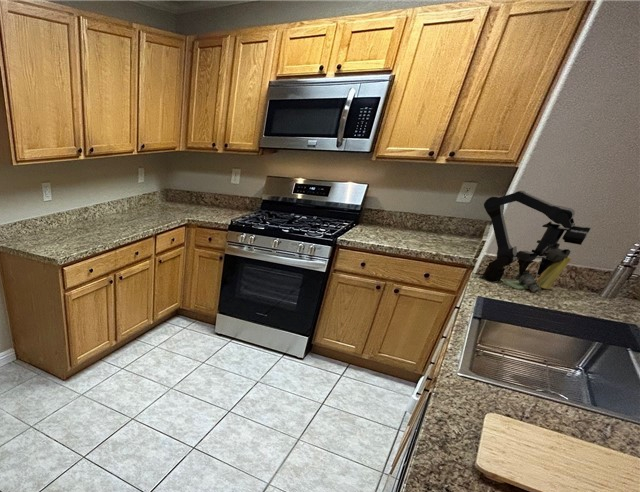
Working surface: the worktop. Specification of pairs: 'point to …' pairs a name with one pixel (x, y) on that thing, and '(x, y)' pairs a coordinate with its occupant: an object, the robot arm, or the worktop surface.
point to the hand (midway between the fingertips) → (529, 274)
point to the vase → (552, 273)
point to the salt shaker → (528, 281)
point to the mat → (515, 284)
